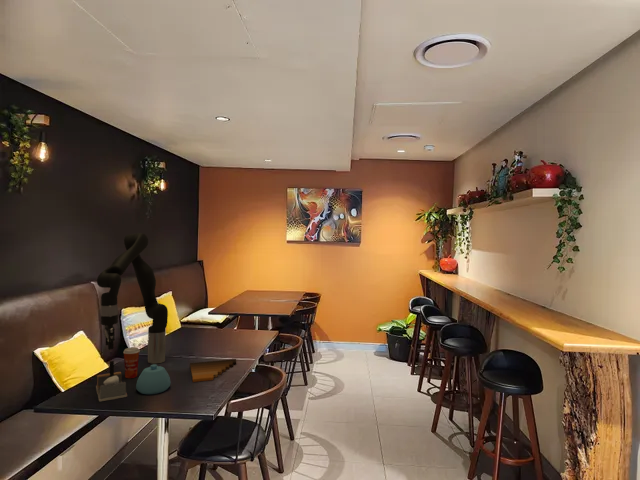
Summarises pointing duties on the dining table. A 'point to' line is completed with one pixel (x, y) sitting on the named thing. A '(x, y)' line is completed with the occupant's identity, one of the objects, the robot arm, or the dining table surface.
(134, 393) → the dining table surface
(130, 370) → the paper cup
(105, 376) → the sliding jaw
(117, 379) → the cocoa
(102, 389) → the beige napkin holder
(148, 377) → the teal dome lid
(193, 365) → the pan flute
